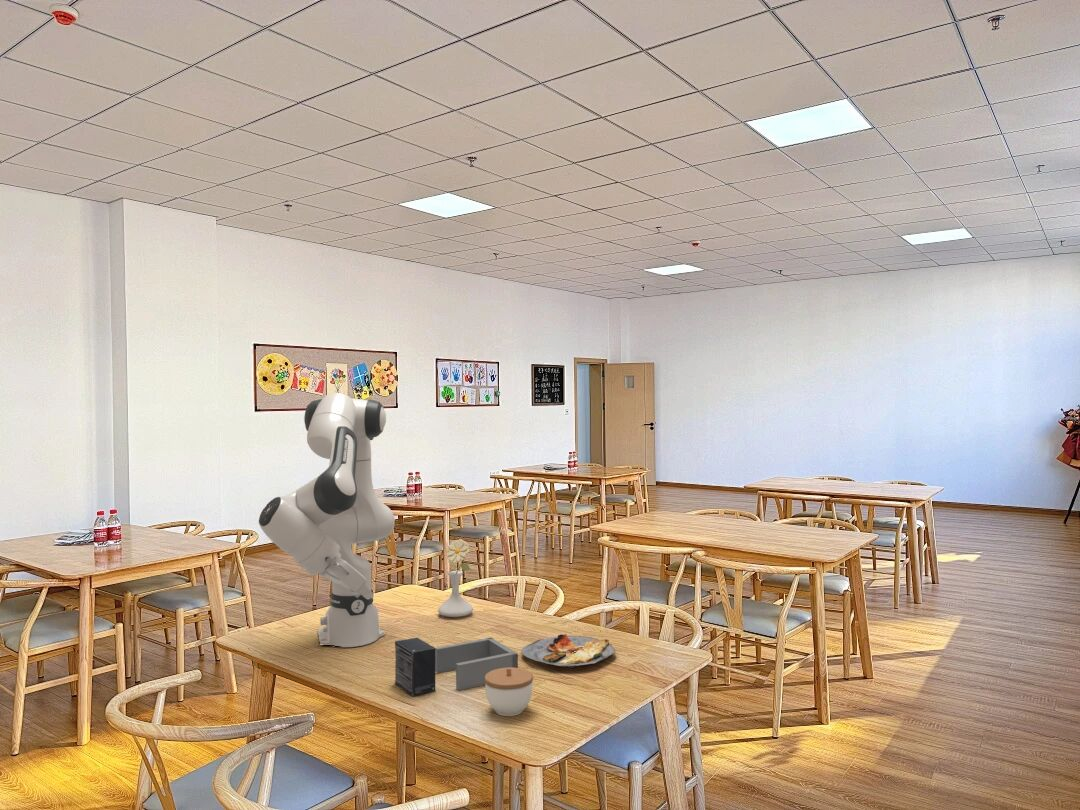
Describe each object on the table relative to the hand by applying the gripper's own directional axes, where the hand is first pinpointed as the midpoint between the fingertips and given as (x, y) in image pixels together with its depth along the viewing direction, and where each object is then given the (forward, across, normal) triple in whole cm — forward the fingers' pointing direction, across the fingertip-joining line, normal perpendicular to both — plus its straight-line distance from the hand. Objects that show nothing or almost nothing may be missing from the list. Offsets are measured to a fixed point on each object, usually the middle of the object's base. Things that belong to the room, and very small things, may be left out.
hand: (362, 593), depth 172 cm
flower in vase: (+51, +49, -19) cm, 73 cm away
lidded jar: (+35, -24, +1) cm, 43 cm away
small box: (+27, 0, +8) cm, 28 cm away
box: (+38, 0, -3) cm, 38 cm away
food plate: (+57, -3, -22) cm, 61 cm away
